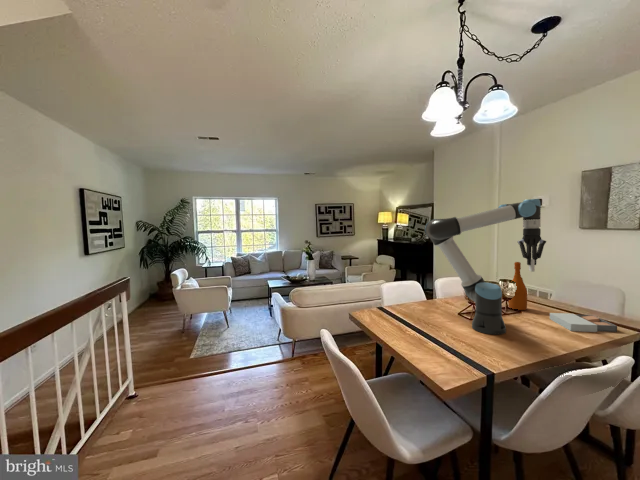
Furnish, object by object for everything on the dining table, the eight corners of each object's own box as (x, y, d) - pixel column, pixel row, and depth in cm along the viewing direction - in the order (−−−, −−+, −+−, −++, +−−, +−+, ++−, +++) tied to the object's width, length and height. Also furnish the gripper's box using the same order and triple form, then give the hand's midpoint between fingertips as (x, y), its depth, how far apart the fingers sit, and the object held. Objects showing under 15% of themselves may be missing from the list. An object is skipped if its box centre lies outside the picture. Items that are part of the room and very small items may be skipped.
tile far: (599, 318, 144) (599, 322, 144) (592, 315, 149) (592, 319, 149) (587, 319, 145) (588, 323, 145) (581, 316, 150) (582, 320, 150)
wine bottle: (530, 311, 169) (530, 262, 168) (512, 310, 171) (512, 263, 170) (522, 306, 179) (522, 260, 177) (505, 306, 181) (505, 261, 179)
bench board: (570, 330, 137) (570, 324, 137) (549, 318, 155) (549, 312, 154) (597, 332, 134) (597, 325, 134) (572, 319, 152) (572, 313, 152)
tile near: (612, 325, 135) (612, 329, 135) (605, 322, 140) (605, 326, 140) (600, 325, 137) (600, 329, 137) (593, 322, 141) (593, 325, 142)
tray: (596, 331, 136) (596, 325, 136) (573, 319, 152) (573, 314, 152) (617, 331, 134) (617, 325, 134) (592, 320, 150) (592, 315, 150)
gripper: (521, 228, 146) (521, 272, 147) (549, 227, 143) (549, 272, 144) (514, 228, 153) (514, 270, 154) (541, 227, 150) (541, 270, 151)
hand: (531, 271), depth 149 cm, fingers closed
